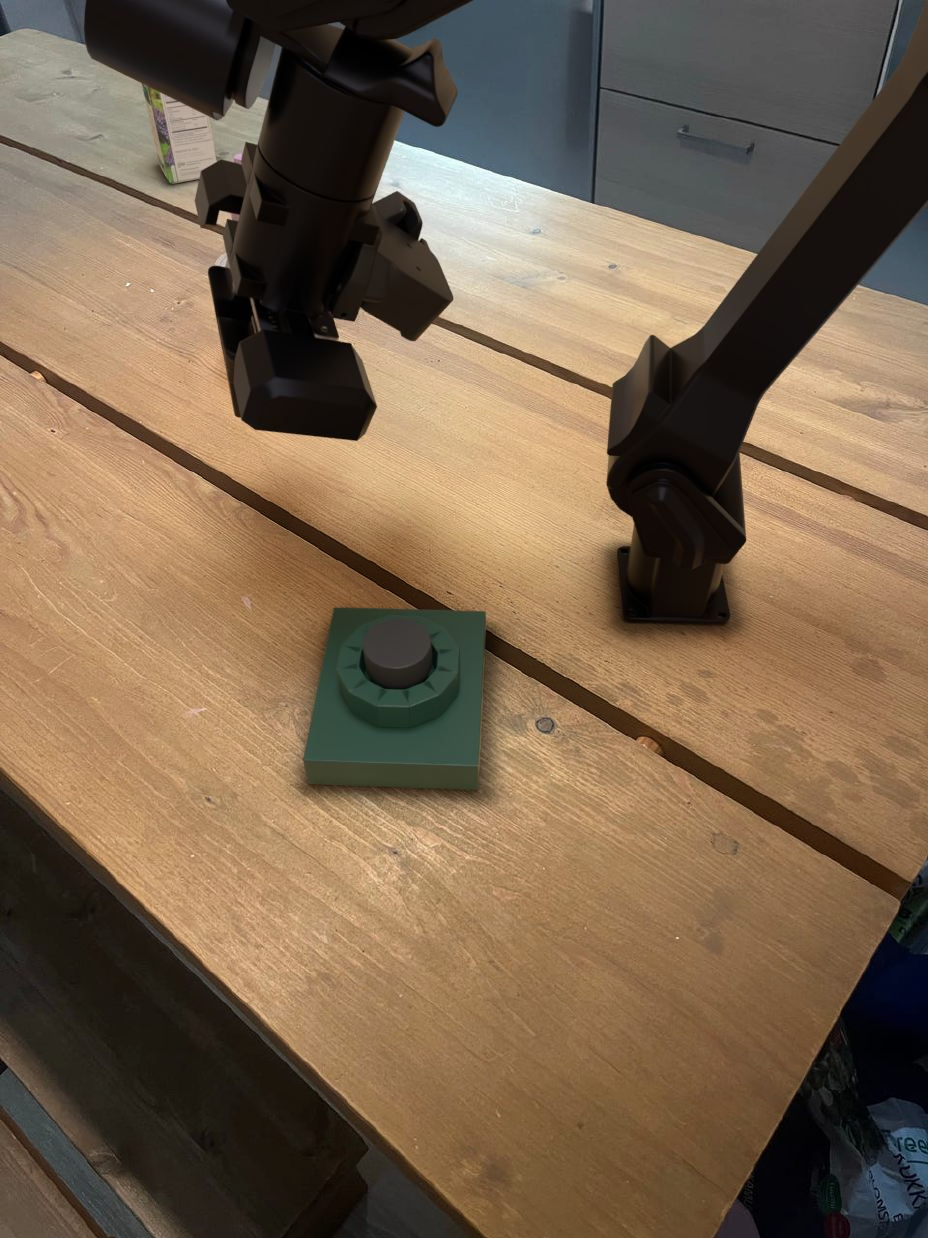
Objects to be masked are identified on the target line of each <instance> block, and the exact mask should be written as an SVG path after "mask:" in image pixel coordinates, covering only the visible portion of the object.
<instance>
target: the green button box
mask: <svg viewBox="0 0 928 1238" xmlns="http://www.w3.org/2000/svg"><path fill="white" fill-rule="evenodd" d="M332 610H333V611H332V615H331V620H330V623H329V624H330V625H329V629H328V635H327V639H326V644H325V650H324V653H323V654H324V655H323V658H322V659H323V660H322V665H321V669H320V674H319V680H318V685H317V689H316V695H315V699H314V704H313V708H312V714H311V719H310V724H309V729H308V735H307V739H306V743H305V749H304V753H303V754H304V755H303V759H302V761H303V765H304V770H305V774H306V778H307V783H308V785H322V786H323V785H324V786H347V787H348V786H350V787H377V788H406V789H407V788H409V789H410V788H412V789H432V790H433V789H434V790H435V789H437V790H441V789H442V790H463V791H464V790H465V791H479V790H480V769H481V768H480V767H481V746H482V726H483V724H482V723H483V705H484V704H483V703H484V682H485V681H484V680H485V662H486V661H485V659H486V639H487V638H486V637H487V613H486V611H485V610H458V609H457V610H456V609H455V610H453V609H420V608H418V609H413V608H381V607H380V608H379V607H376V608H375V607H345V606H344V607H342V606H340V607H339V606H334V607H333V609H332ZM395 618H403V619H409V620H413V621H415V622H417V623H419V624H421V625H422V626H423V627H424V628H425V629H426V630H427V631H428V633H429V635H430V637H431V645H432V668H431V671H430V672H429V674H428V676H427V677H426V678H425V679H424V680H423V681H422V682H420V683H419V684H417V685H415V686H412V687H409V688H405V689H389V688H385V687H382V686H380V685H378V684H377V683H375V682H374V681H373V680H372V679H371V678H370V677H369V675H368V673H367V671H366V666H365V659H364V651H363V641H364V638H365V636H366V634H367V633H368V631H369V630H370V629H371V628H372V627H374V626H375V625H376V624H378V623H380V622H382V621H385V620H389V619H395Z"/></svg>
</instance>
